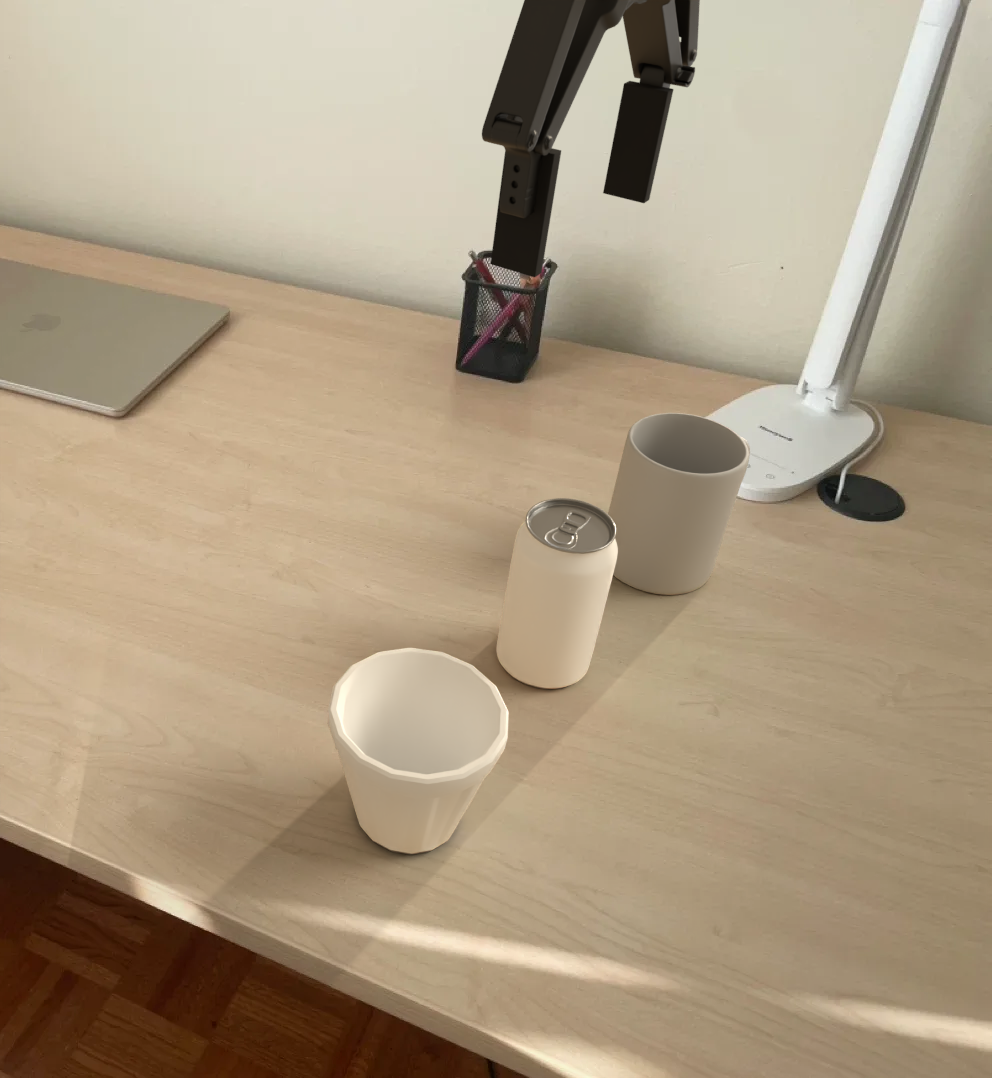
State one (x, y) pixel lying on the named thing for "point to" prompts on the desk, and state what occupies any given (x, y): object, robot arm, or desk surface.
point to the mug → (675, 500)
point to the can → (556, 592)
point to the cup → (415, 743)
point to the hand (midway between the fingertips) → (574, 230)
